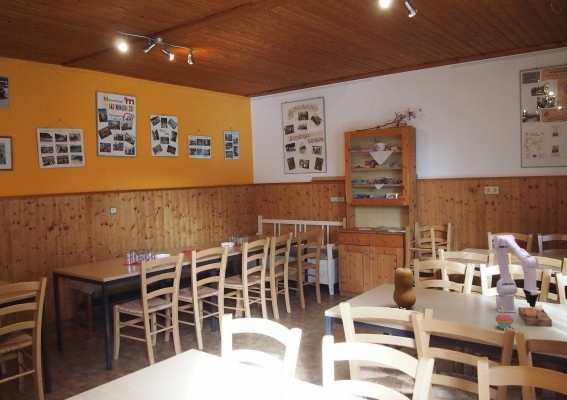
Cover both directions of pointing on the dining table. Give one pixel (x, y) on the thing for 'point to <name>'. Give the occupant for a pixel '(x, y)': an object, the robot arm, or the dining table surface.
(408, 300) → the butternut squash
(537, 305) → the cream button
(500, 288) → the robot arm
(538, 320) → the wooden compartment tray
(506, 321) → the cupcake
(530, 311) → the terracotta button
